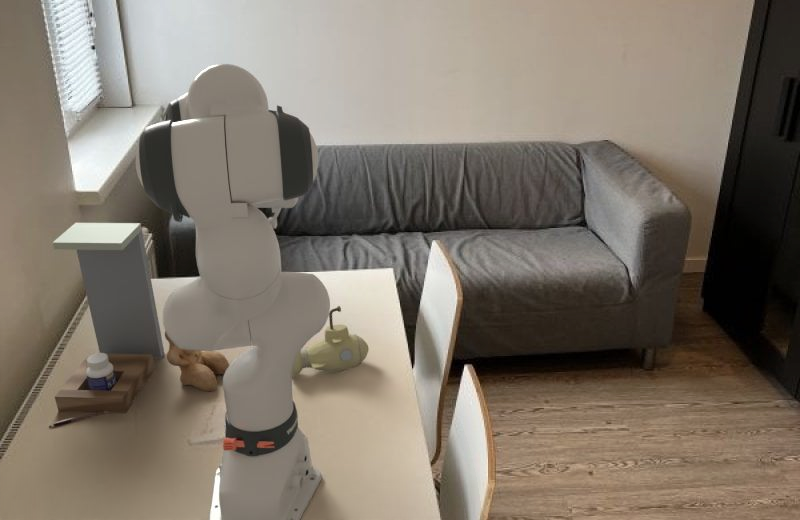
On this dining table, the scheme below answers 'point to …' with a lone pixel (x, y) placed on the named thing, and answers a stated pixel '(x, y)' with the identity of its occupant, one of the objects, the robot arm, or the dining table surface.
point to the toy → (333, 350)
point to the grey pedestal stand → (117, 286)
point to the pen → (75, 419)
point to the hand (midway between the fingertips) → (249, 227)
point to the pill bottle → (100, 372)
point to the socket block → (129, 383)
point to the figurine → (197, 366)
